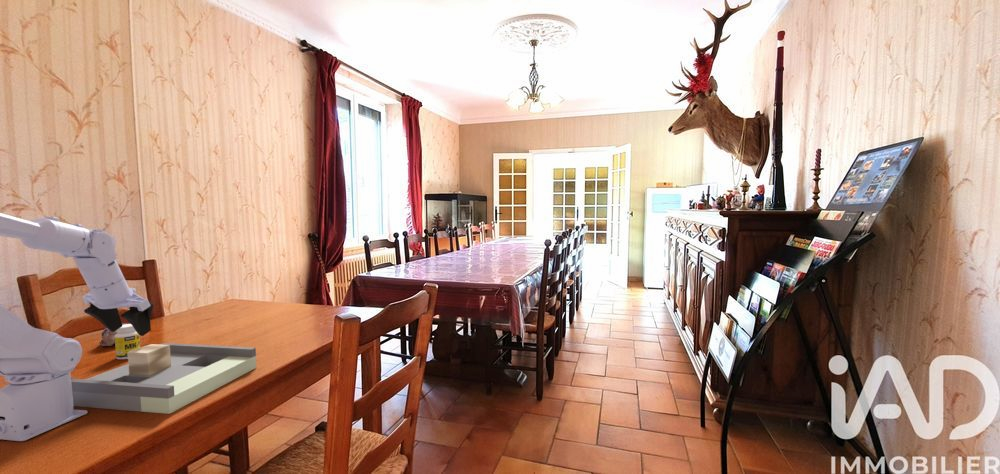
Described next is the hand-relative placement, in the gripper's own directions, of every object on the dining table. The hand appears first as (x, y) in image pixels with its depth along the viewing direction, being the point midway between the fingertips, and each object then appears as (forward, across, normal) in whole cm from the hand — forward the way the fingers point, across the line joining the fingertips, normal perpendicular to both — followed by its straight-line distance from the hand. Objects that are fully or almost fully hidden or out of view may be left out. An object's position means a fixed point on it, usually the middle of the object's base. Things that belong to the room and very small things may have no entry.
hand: (131, 330), depth 90 cm
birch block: (+6, -7, +4) cm, 11 cm away
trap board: (+9, -12, +6) cm, 16 cm away
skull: (+21, +30, -14) cm, 39 cm away
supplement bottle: (+16, +15, -6) cm, 23 cm away
